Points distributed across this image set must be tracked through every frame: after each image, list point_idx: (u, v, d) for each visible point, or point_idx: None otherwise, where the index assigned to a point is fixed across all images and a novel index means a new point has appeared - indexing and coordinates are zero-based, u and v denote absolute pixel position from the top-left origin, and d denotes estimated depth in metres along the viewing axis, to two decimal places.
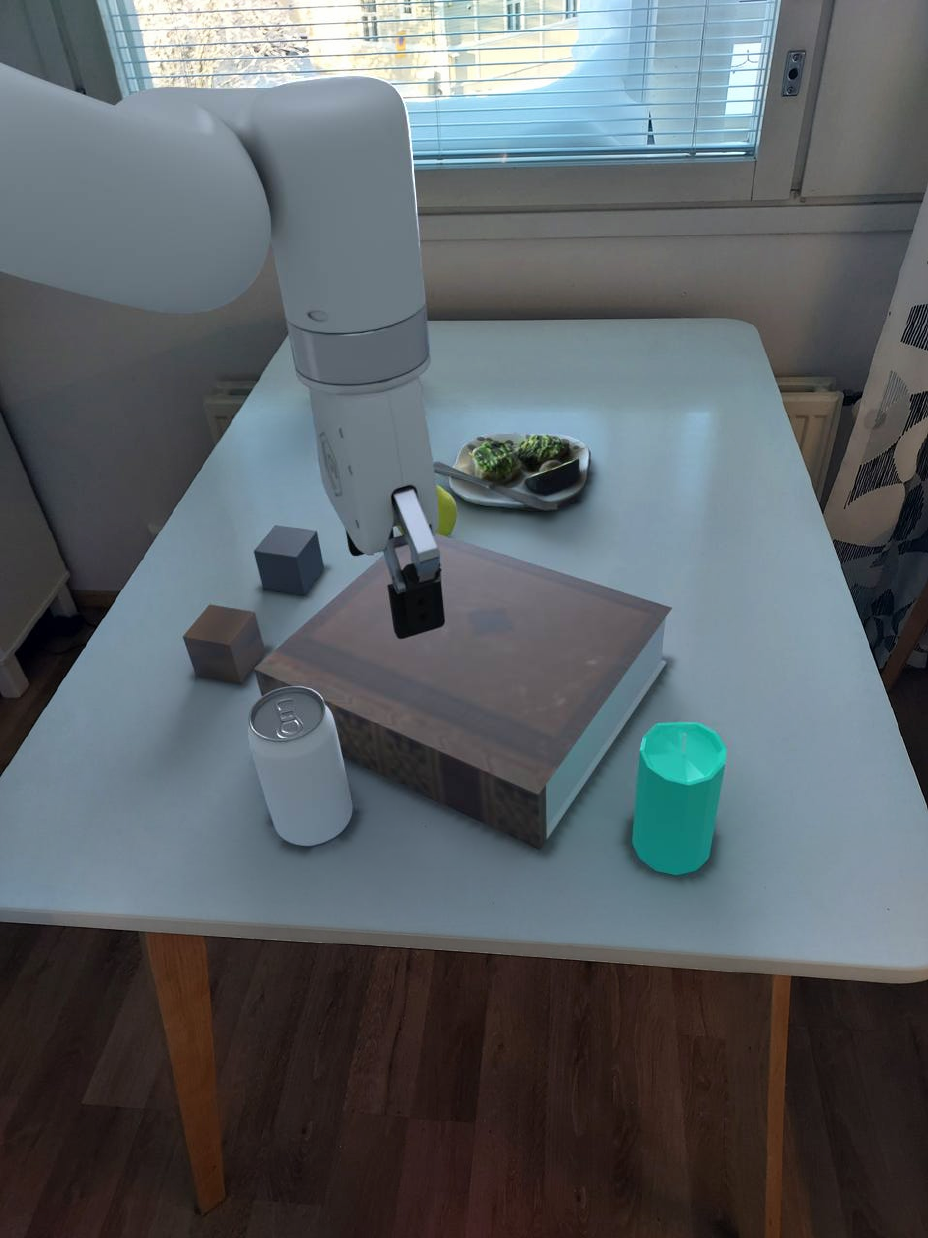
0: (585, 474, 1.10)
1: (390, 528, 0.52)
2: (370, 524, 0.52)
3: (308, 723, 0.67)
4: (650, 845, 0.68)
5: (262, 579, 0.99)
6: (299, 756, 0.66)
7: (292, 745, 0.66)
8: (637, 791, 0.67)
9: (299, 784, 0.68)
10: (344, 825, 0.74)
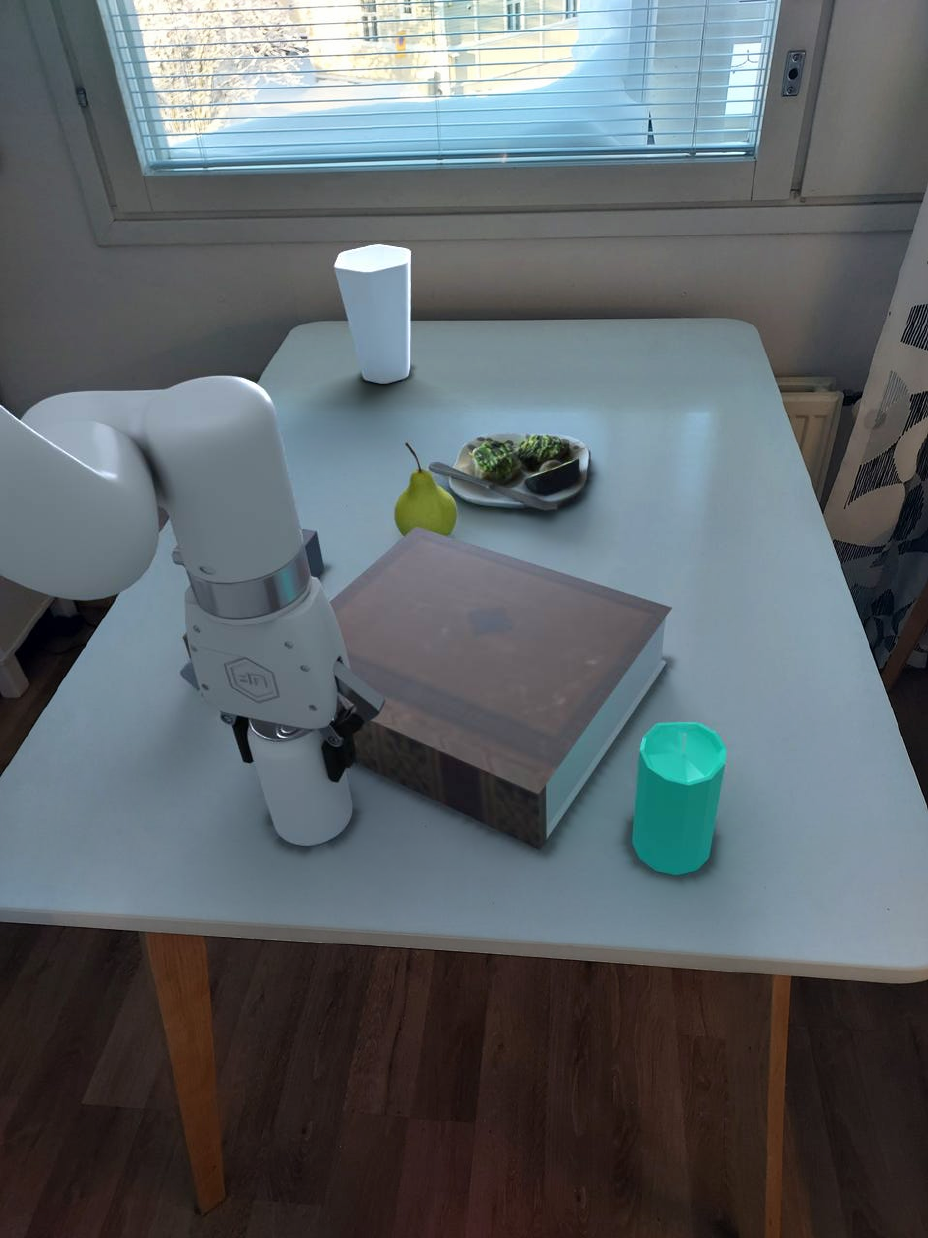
0: (585, 474, 1.10)
1: (336, 696, 0.63)
2: (327, 701, 0.62)
3: None
4: (650, 845, 0.68)
5: None
6: (298, 756, 0.66)
7: (292, 745, 0.66)
8: (637, 791, 0.67)
9: (299, 784, 0.68)
10: (344, 825, 0.74)
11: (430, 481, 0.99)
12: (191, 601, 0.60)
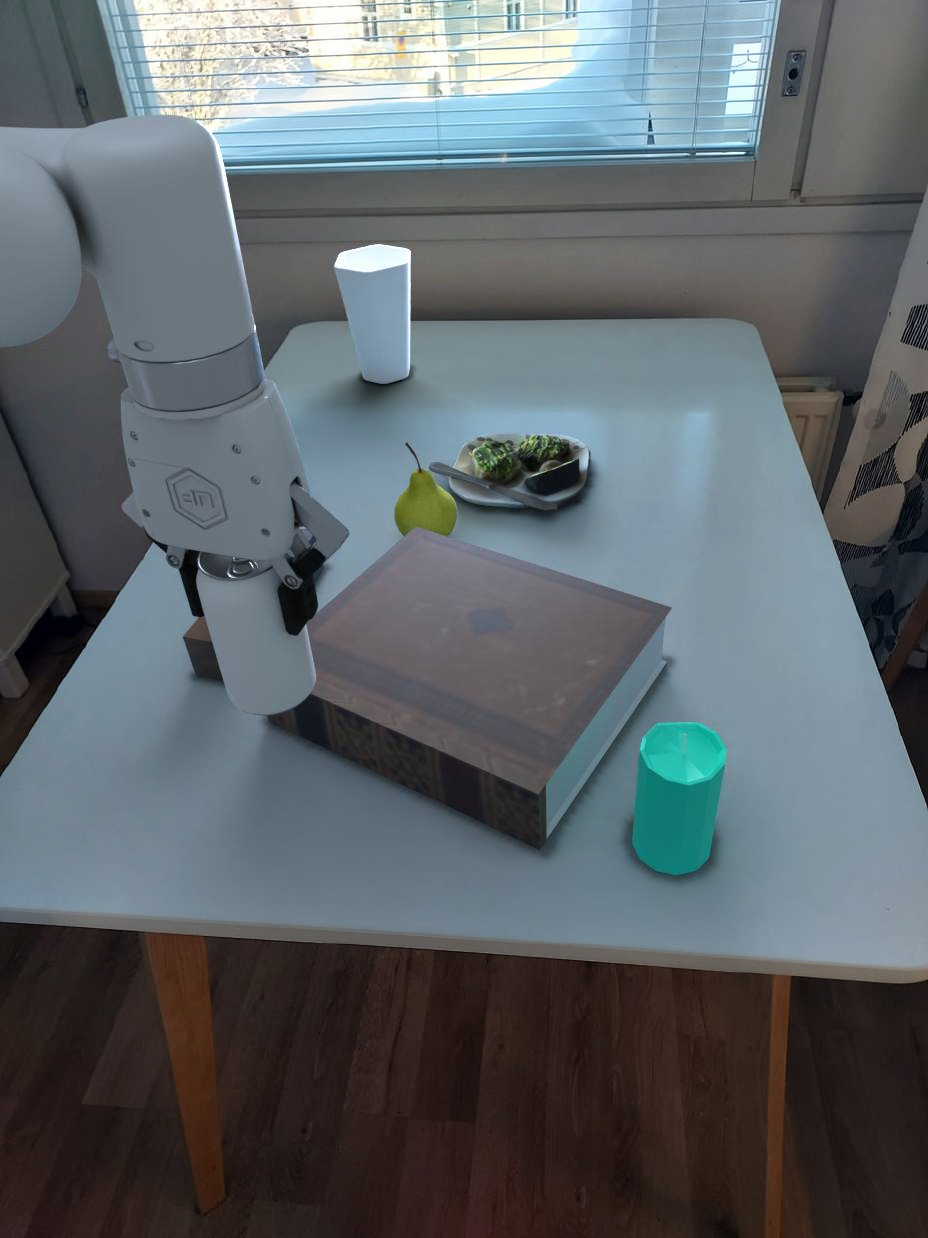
0: (585, 474, 1.10)
1: (293, 523, 0.56)
2: (281, 525, 0.55)
3: (264, 564, 0.60)
4: (650, 845, 0.68)
5: None
6: (251, 599, 0.59)
7: (244, 586, 0.59)
8: (637, 791, 0.67)
9: (253, 635, 0.61)
10: (305, 694, 0.66)
11: (430, 481, 0.99)
12: (127, 400, 0.53)
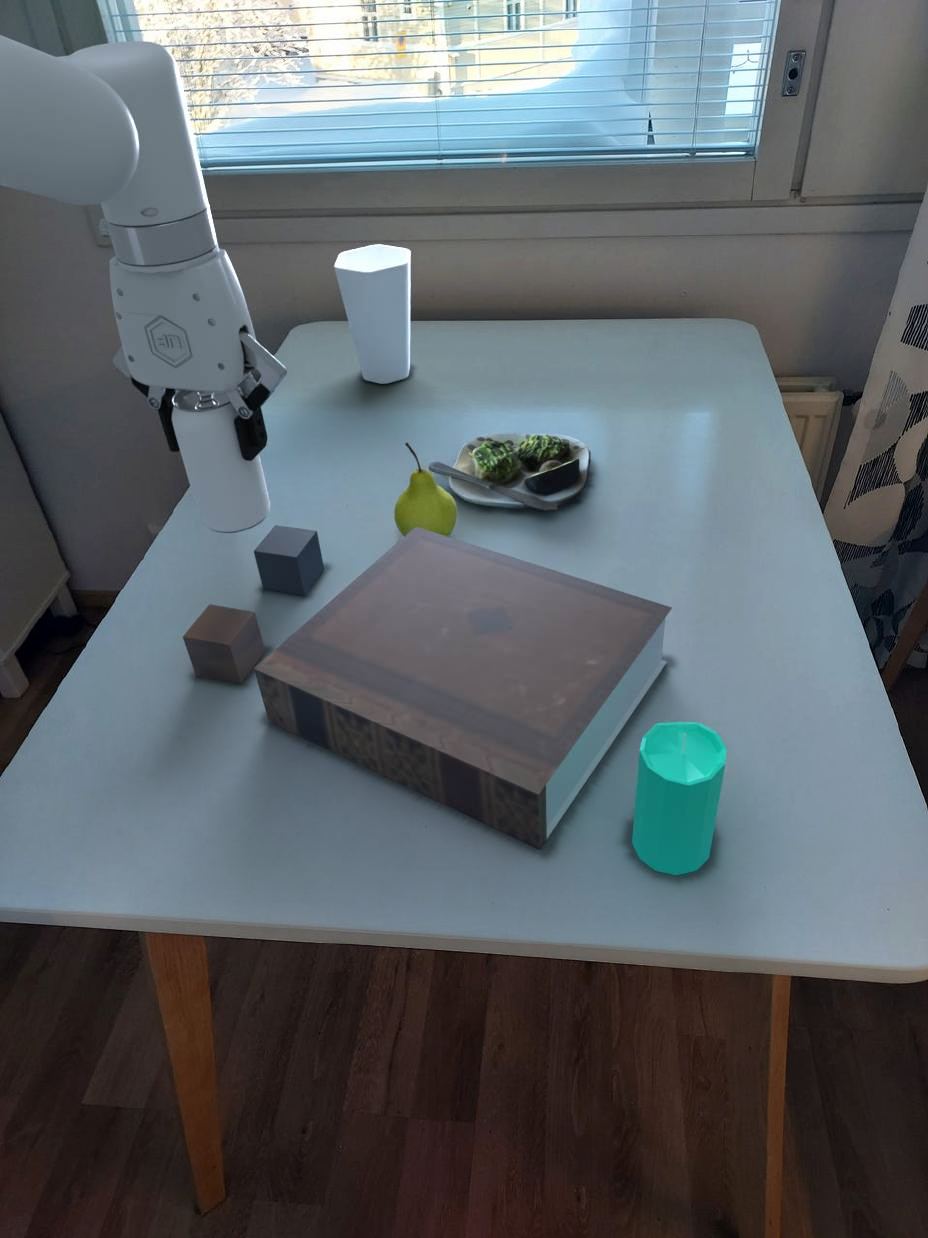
0: (585, 474, 1.10)
1: (243, 361, 0.73)
2: (233, 360, 0.72)
3: (223, 402, 0.77)
4: (650, 845, 0.68)
5: (262, 579, 0.99)
6: (214, 427, 0.76)
7: (208, 416, 0.76)
8: (637, 791, 0.67)
9: (216, 458, 0.78)
10: (261, 516, 0.83)
11: (430, 481, 0.99)
12: (114, 263, 0.70)
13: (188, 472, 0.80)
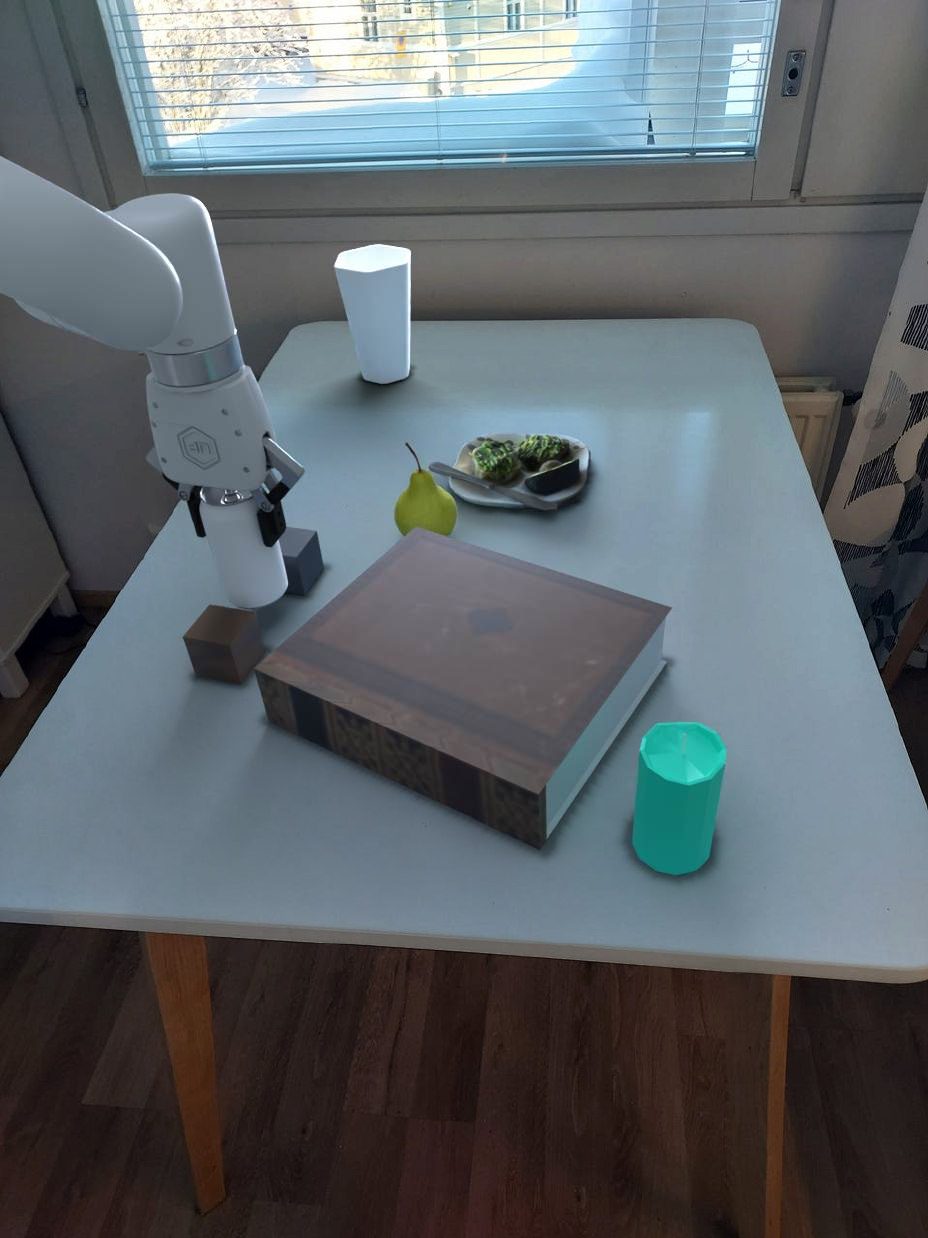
0: (585, 474, 1.10)
1: (265, 463, 0.81)
2: (257, 464, 0.80)
3: (246, 495, 0.85)
4: (650, 845, 0.68)
5: None
6: (238, 519, 0.84)
7: (233, 510, 0.84)
8: (637, 791, 0.67)
9: (240, 546, 0.86)
10: (280, 593, 0.92)
11: (430, 481, 0.99)
12: (150, 380, 0.78)
13: (214, 556, 0.88)
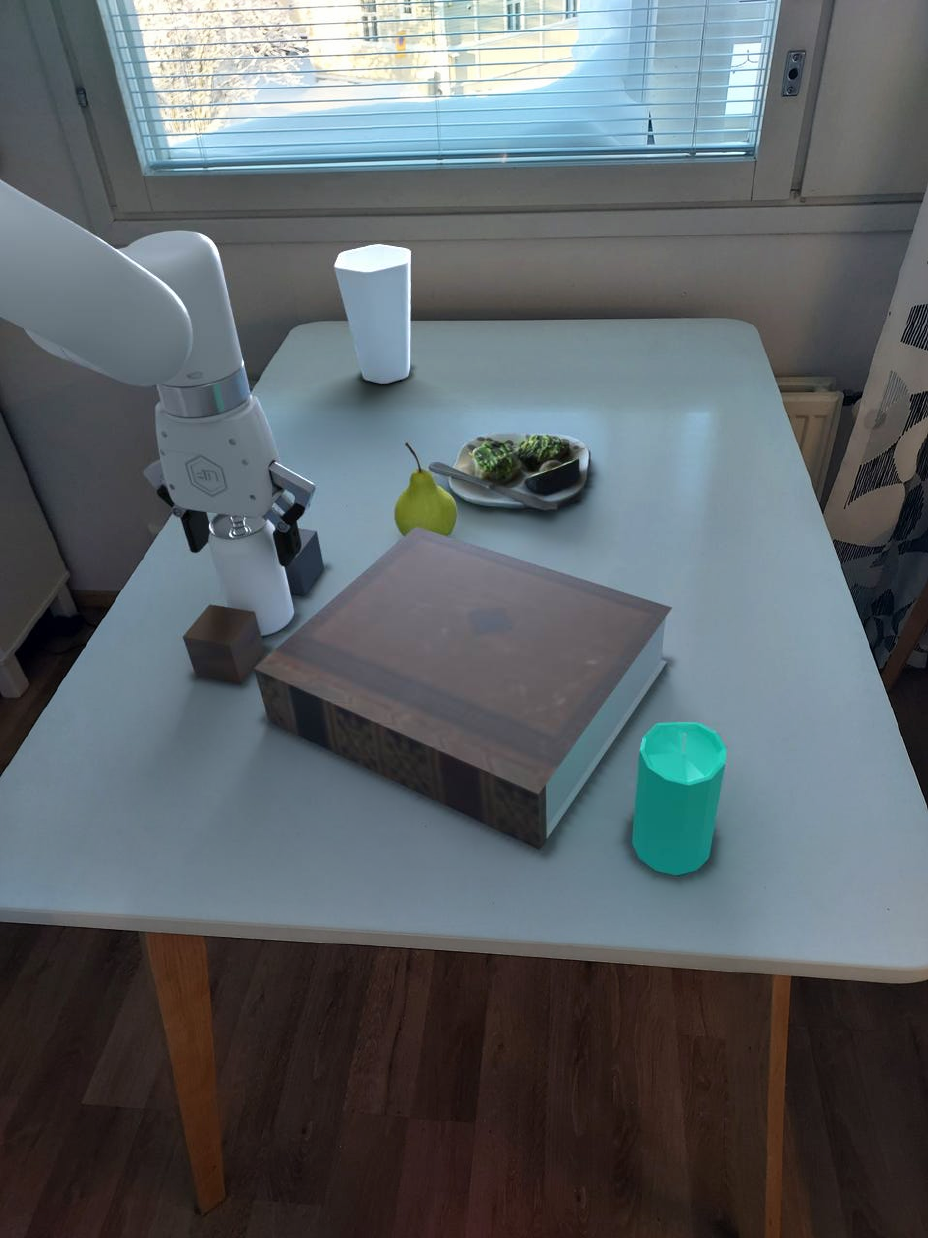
0: (585, 474, 1.10)
1: (271, 491, 0.83)
2: (263, 492, 0.82)
3: (254, 528, 0.87)
4: (650, 845, 0.68)
5: None
6: (246, 552, 0.87)
7: (241, 543, 0.86)
8: (637, 791, 0.67)
9: (248, 577, 0.88)
10: (286, 621, 0.94)
11: (430, 481, 0.99)
12: (159, 410, 0.80)
13: (222, 586, 0.90)
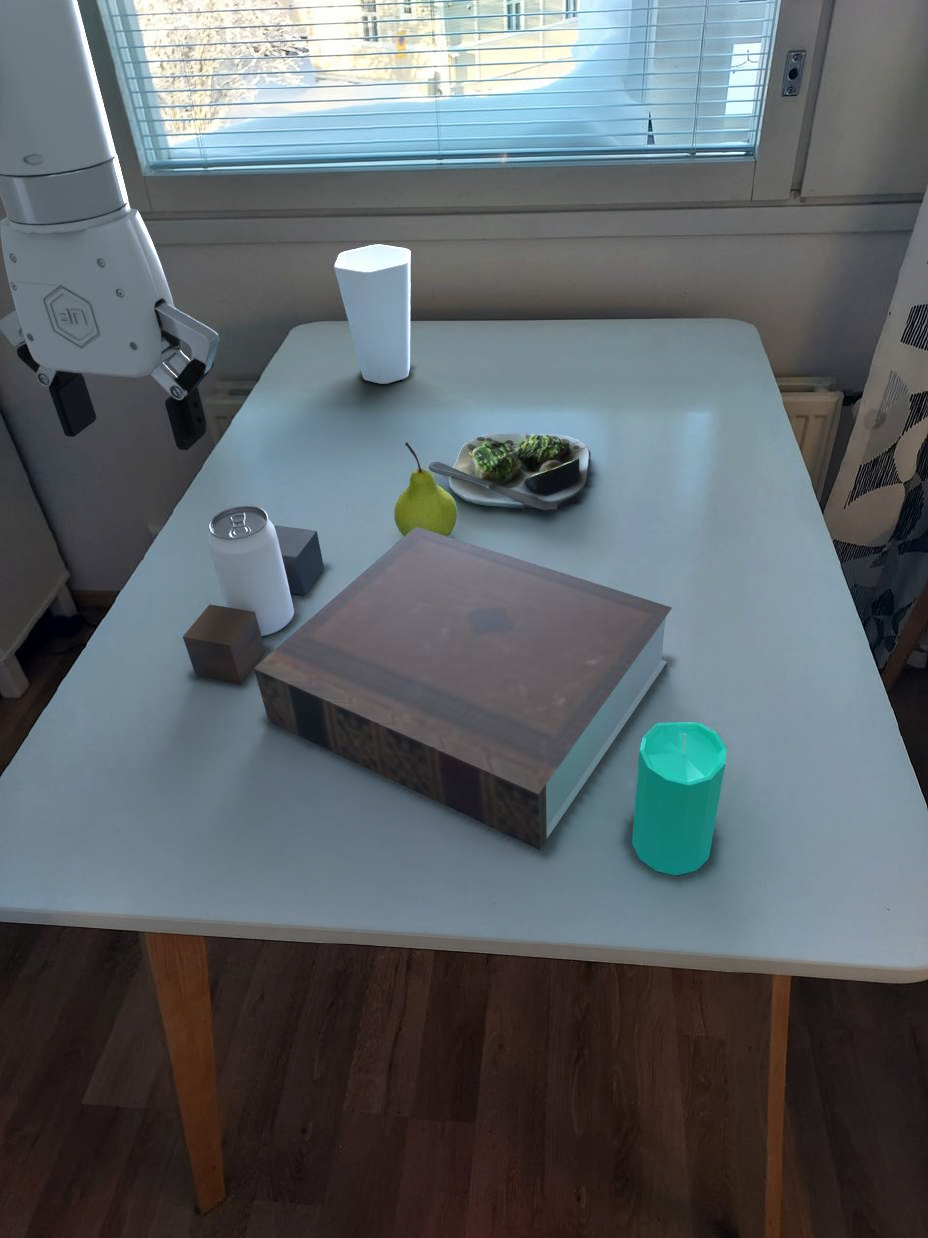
0: (585, 474, 1.10)
1: (160, 340, 0.63)
2: (148, 339, 0.62)
3: (254, 528, 0.87)
4: (650, 845, 0.68)
5: None
6: (246, 552, 0.87)
7: (241, 543, 0.86)
8: (637, 791, 0.67)
9: (248, 577, 0.88)
10: (286, 621, 0.94)
11: (430, 481, 0.99)
12: (5, 223, 0.59)
13: (222, 586, 0.90)
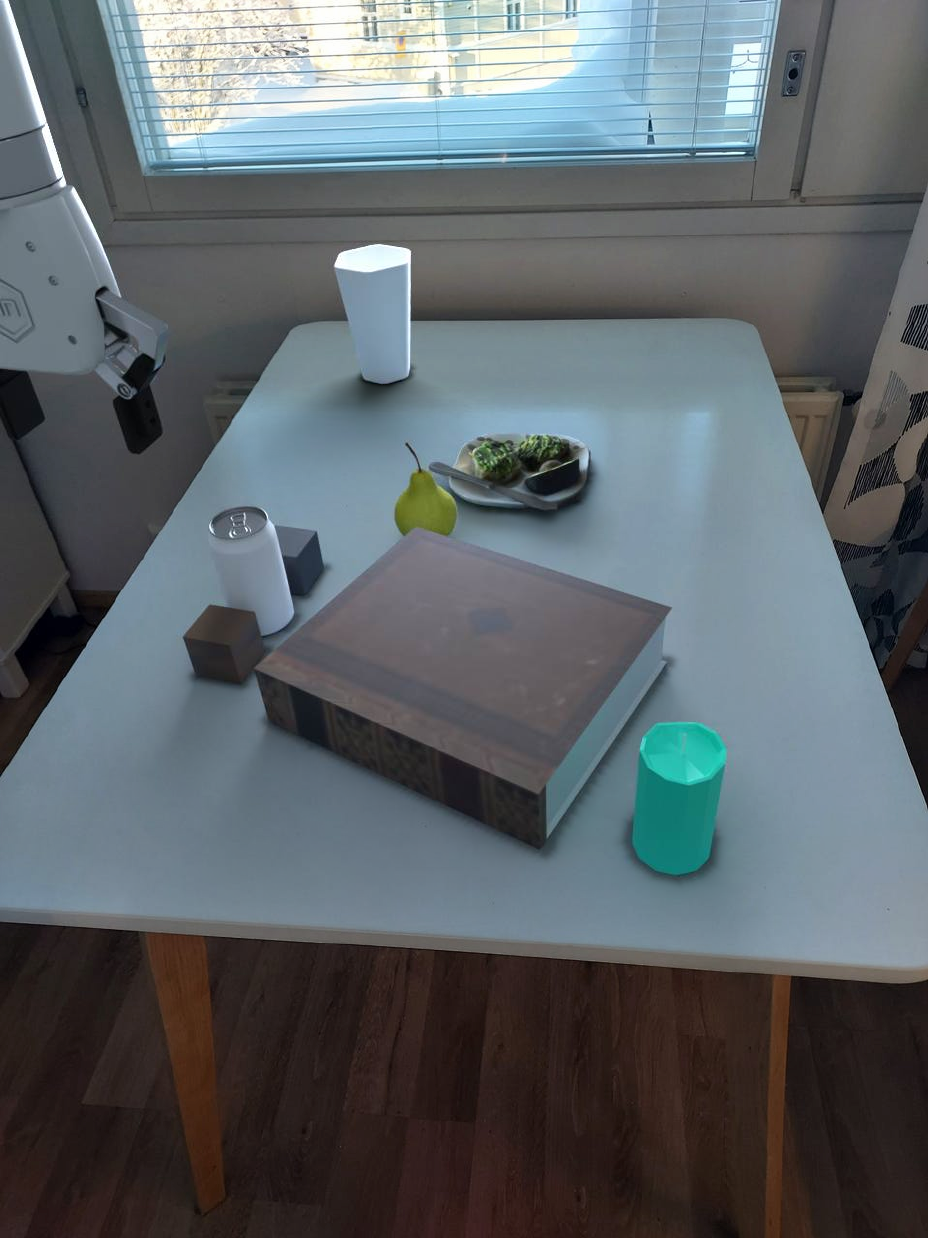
0: (585, 474, 1.10)
1: (103, 333, 0.56)
2: (88, 332, 0.55)
3: (254, 528, 0.87)
4: (650, 845, 0.68)
5: None
6: (246, 552, 0.87)
7: (241, 543, 0.86)
8: (637, 791, 0.67)
9: (248, 577, 0.88)
10: (286, 621, 0.94)
11: (430, 481, 0.99)
12: None
13: (222, 586, 0.90)
